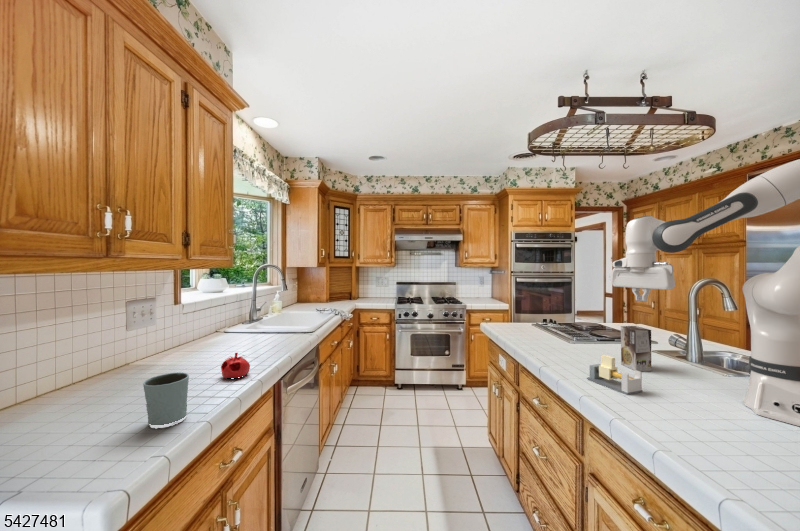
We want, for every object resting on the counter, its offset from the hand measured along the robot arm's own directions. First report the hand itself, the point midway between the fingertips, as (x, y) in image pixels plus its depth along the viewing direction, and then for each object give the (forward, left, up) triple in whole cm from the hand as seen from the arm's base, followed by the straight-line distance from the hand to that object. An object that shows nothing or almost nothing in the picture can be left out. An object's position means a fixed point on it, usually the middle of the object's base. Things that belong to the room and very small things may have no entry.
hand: (641, 300), depth 118 cm
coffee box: (+11, -13, -29) cm, 33 cm away
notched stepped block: (+2, +13, -26) cm, 30 cm away
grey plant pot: (+21, +151, -29) cm, 156 cm away
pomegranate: (+55, +139, -29) cm, 153 cm away
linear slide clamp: (0, +13, -29) cm, 32 cm away
